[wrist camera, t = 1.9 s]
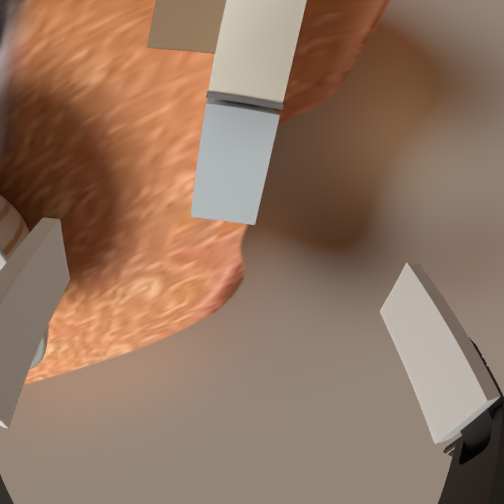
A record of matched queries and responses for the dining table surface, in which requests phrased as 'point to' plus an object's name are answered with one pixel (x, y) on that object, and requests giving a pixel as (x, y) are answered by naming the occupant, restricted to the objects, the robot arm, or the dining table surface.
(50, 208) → the dining table surface
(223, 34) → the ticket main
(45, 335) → the decorative bowl
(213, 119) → the stub
